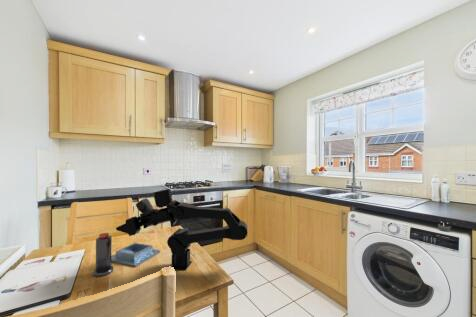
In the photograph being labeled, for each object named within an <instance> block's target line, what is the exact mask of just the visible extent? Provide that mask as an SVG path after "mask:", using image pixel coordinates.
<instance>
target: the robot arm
mask: <svg viewBox="0 0 476 317" xmlns="http://www.w3.org/2000/svg"><path fill="white" fill-rule="evenodd" d="M152 195H153V199H154V202H155V206H156V207H157V208H154V207H153V205H152V203H151V202H150V200H149V199H148V198H146V197H145V198H143V199H141V200H140V201H138V202H136V203H135V206H136V209H137V210H138V212H140V214H139V216H135V215H134V216H132V217H129V218H127V219H126V220H125V222H124V223H123V224H121V225H119V226H117V227H115V229H116V231H118V232H120V233H125V234H128V236H129V237H131V236H135V235H137V234H138V233H140V231H141V230H142V227H143V229H147V228H148V227H151V226H153V227H155V226H157V225H160V224H164V223H167V222H170V226H172V227H173V226H174V225H175V224H176V223H177V221H179V220H181V221H182V220H189V219H193V218H201V219H210V220H211V219H212V220H213V219H214V220H222V221H224V222H225V223H226V225H225V226H220V227H214V228H208V229H200V230H193V231H190V230H189V229H188V228H189V227H184V228H180V227H179V228H178V229H177V230H175V231H174V232H173V233H172V234H171V235H170V236H169V237H168V238H167V242H166V243H167V244H166V245H167V247H169V249H170V252H171V266H172V267H174V268H175V269H174V270H182V271H186V270H187V269H188V268H189V267H190V265H191V264H192V263H193V262H192V260H191V249H190V246H192V244H195V243H202V242H209V241H215V240H221V239H223V240H224V239H228V240H232V241H243V240H245V239H246V237H247V236H248V224H247V223H246V222H245V221H243V220H241V219H240V218H239V216H238V215H236V214H235V213H234V212H233V211H232V210H231V209H230V208H226V207H225V208H223V207H222V208H221V207H209V206H197V205H194V204H192V203H189V202H181V201H178V200H175V199H174V200H173V198H172V192H171V188H167V189H161V190H157V191H154V192H152ZM158 208H159V209H158Z"/></svg>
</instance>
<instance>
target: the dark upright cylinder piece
mask: <svg viewBox="0 0 476 317" xmlns="http://www.w3.org/2000/svg"><path fill="white" fill-rule="evenodd" d="M112 238H113V237H112V235H109V232H103V233H99V235H98V237H96V238H95V269H94V270H93V272H92V275H93V277H95V278H101V277H106V276H108V275H111V274H112V273H113V272H114V266H112V262H111V256H112V240H113V239H112Z"/></svg>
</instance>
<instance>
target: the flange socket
mask: <svg viewBox="0 0 476 317" xmlns="http://www.w3.org/2000/svg"><path fill="white" fill-rule="evenodd" d="M160 253H161V250H160V249H155V248H153V245H150V244H144V243H140V242H134V243H131V244H129V245H127V246H124V247H123V248H120V249H118V250H115V254H113V255H111V263H112V262H113V263H117V264H121V265H124V266H125V265H127V266H130V267H136V268H137V267H139V266H140V265H141V264H143V263H145V262H147V261H149V260H150V259H152V258H154V257H156V256H157V255H158V254H160Z"/></svg>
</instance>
